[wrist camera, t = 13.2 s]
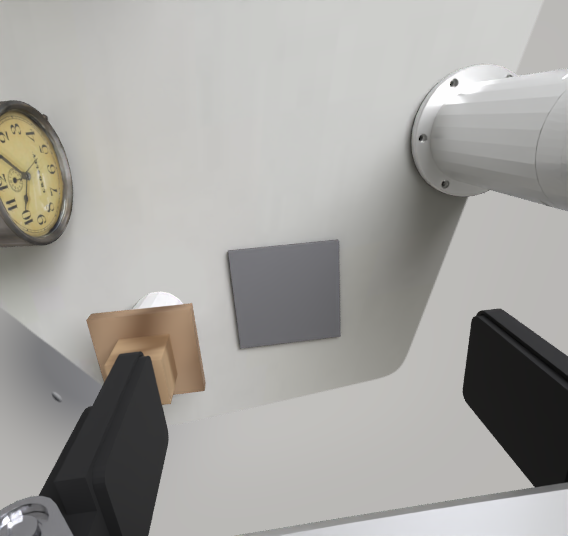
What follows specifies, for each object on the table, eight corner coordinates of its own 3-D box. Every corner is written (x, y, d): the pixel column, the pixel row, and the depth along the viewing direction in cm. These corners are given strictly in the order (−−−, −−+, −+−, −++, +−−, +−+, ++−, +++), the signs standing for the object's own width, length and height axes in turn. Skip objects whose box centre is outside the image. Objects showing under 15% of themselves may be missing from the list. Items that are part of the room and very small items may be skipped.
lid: (192, 303, 35) (185, 332, 30) (205, 382, 38) (201, 420, 34) (91, 313, 34) (67, 345, 30) (113, 394, 38) (95, 434, 33)
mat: (337, 239, 42) (339, 241, 41) (339, 333, 46) (340, 336, 46) (228, 250, 41) (228, 252, 40) (240, 345, 45) (240, 348, 45)
